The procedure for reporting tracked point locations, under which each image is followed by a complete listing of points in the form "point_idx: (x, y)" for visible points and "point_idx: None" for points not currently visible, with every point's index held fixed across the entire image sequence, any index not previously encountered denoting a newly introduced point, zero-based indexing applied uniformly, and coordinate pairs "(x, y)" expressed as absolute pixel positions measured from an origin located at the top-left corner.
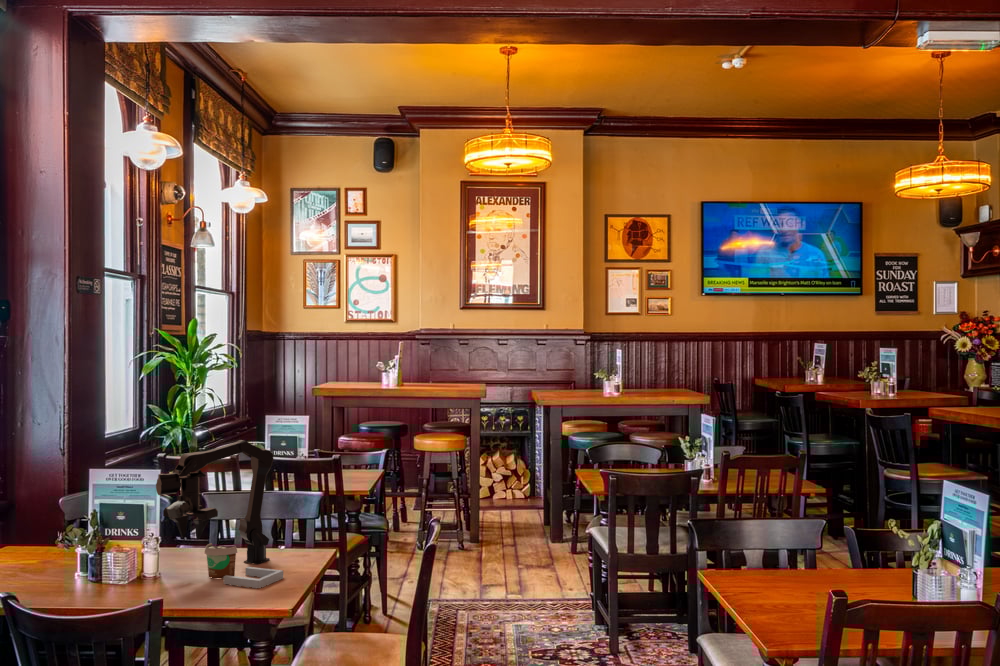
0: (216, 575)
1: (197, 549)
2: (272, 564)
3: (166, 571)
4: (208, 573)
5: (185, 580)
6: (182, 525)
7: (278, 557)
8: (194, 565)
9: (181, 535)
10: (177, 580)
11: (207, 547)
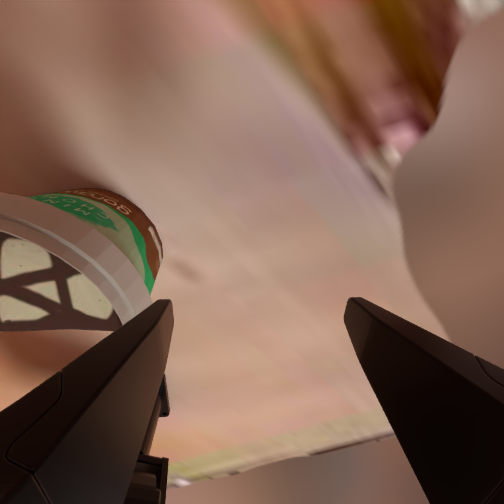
0: (63, 191)
1: None
2: None
3: (368, 217)
4: (133, 209)
5: (191, 123)
6: (444, 420)
7: None
8: (310, 306)
9: (367, 305)
10: (229, 111)
11: (107, 285)
